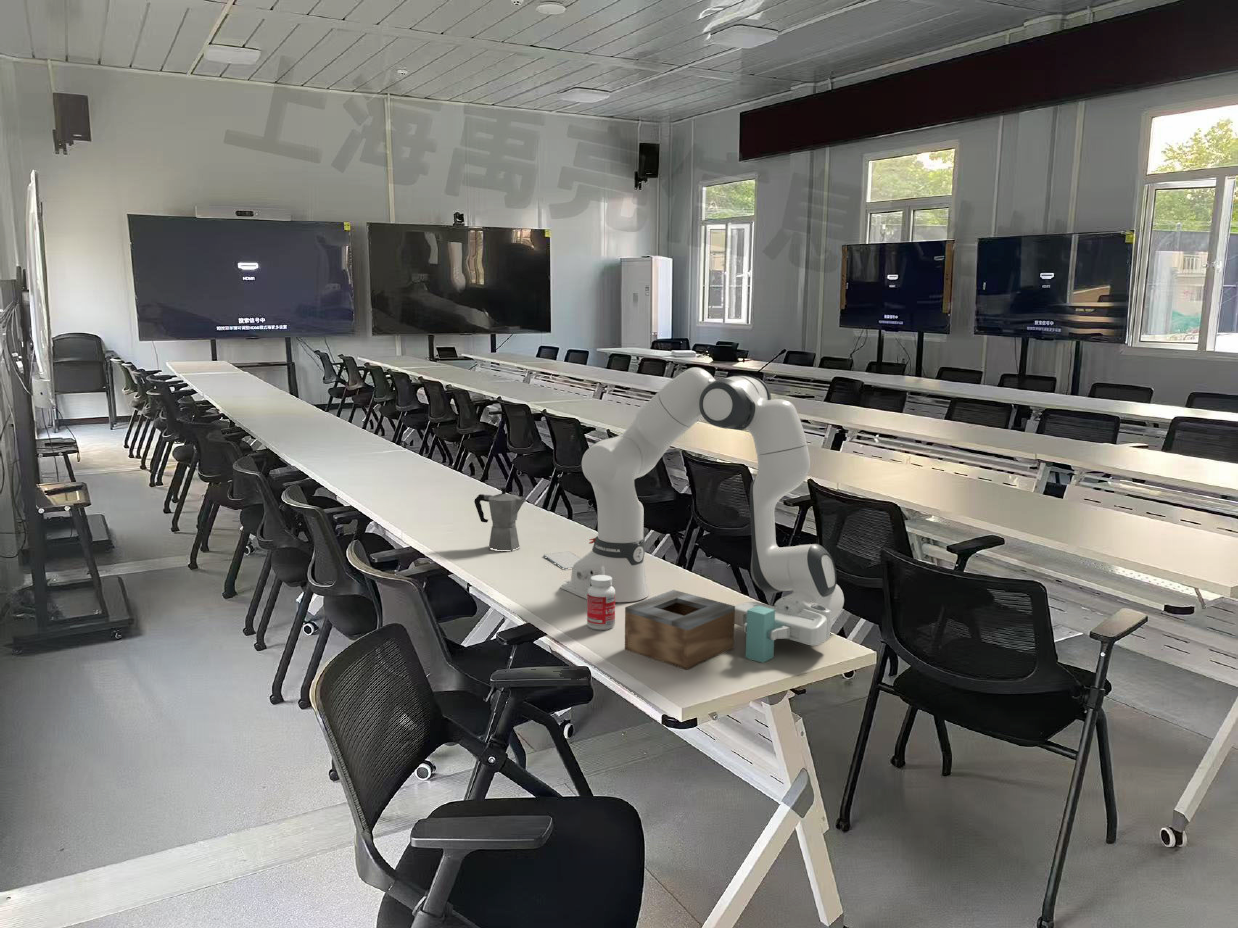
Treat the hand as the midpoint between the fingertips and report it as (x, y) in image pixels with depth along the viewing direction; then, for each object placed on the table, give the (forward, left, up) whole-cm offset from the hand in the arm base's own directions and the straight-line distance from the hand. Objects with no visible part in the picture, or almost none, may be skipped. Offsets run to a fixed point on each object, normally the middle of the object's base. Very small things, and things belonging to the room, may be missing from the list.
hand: (758, 632), depth 184 cm
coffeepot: (-102, +22, -6) cm, 104 cm away
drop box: (-15, -6, -6) cm, 17 cm away
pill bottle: (-36, -7, -6) cm, 37 cm away
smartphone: (-78, +25, -6) cm, 82 cm away
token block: (0, +1, -6) cm, 6 cm away
